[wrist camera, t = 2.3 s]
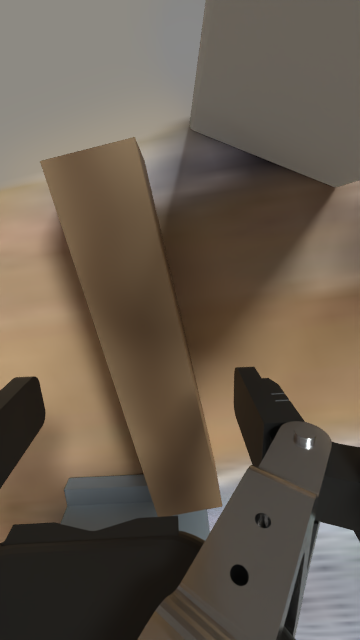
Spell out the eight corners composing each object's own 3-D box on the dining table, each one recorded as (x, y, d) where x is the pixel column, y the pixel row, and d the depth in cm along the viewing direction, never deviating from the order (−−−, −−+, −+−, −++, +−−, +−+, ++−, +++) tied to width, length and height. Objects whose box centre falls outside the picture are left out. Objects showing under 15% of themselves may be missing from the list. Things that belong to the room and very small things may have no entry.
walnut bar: (144, 162, 15) (134, 137, 11) (213, 456, 21) (222, 506, 17) (74, 180, 15) (40, 161, 11) (161, 466, 21) (158, 518, 17)
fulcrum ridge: (204, 471, 21) (218, 584, 14) (205, 540, 23) (218, 668, 16) (69, 478, 21) (18, 594, 14) (82, 546, 23) (43, 676, 16)
